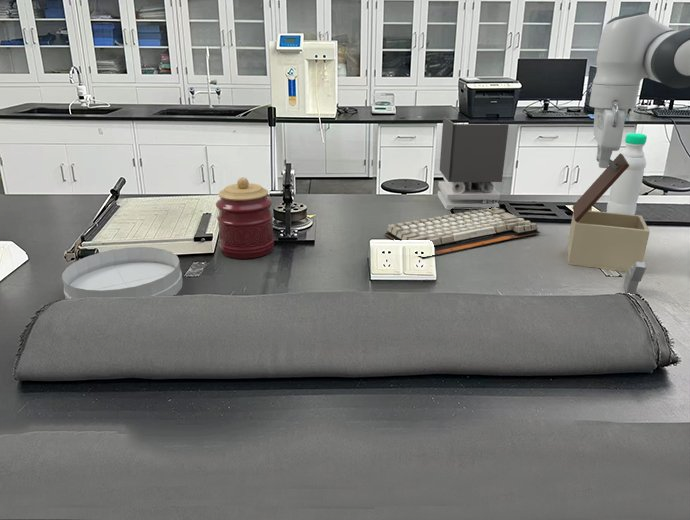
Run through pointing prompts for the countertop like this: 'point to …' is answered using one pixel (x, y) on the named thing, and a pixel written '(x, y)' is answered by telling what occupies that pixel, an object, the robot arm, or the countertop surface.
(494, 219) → the mechanical keyboard
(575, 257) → the box
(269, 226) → the kitchen canister
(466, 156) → the electrical transformer
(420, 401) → the countertop surface
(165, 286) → the dish
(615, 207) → the water bottle
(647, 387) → the countertop surface
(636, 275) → the lighter
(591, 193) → the lid
